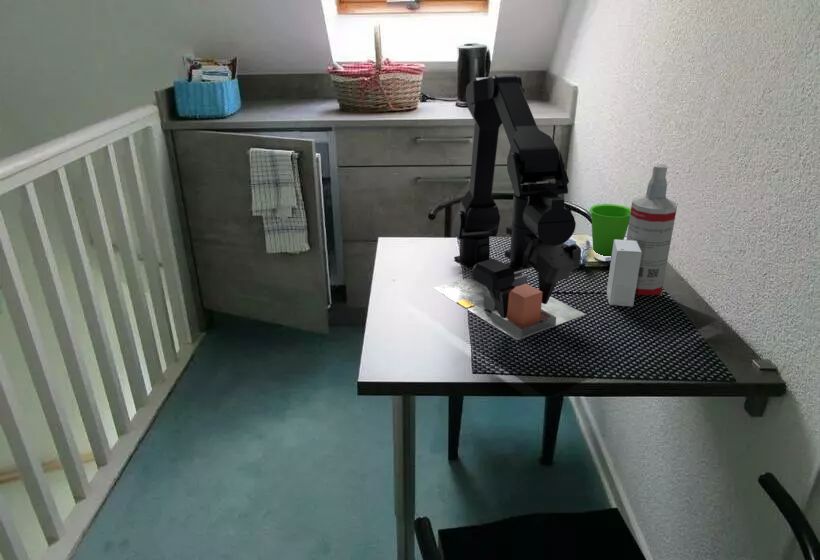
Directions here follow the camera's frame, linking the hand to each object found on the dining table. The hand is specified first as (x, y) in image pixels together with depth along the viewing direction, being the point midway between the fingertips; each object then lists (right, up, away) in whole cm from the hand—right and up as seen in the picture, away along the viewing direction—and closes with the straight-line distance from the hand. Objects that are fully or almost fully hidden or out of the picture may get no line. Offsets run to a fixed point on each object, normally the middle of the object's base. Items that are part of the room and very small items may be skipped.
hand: (523, 310), depth 101 cm
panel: (-2, 0, +9) cm, 9 cm away
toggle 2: (0, +4, +13) cm, 13 cm away
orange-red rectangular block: (0, -2, +1) cm, 2 cm away
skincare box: (+19, 0, +9) cm, 22 cm away
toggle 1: (-3, 0, +6) cm, 6 cm away
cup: (+24, +10, +30) cm, 40 cm away
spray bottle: (+25, +2, +14) cm, 29 cm away
